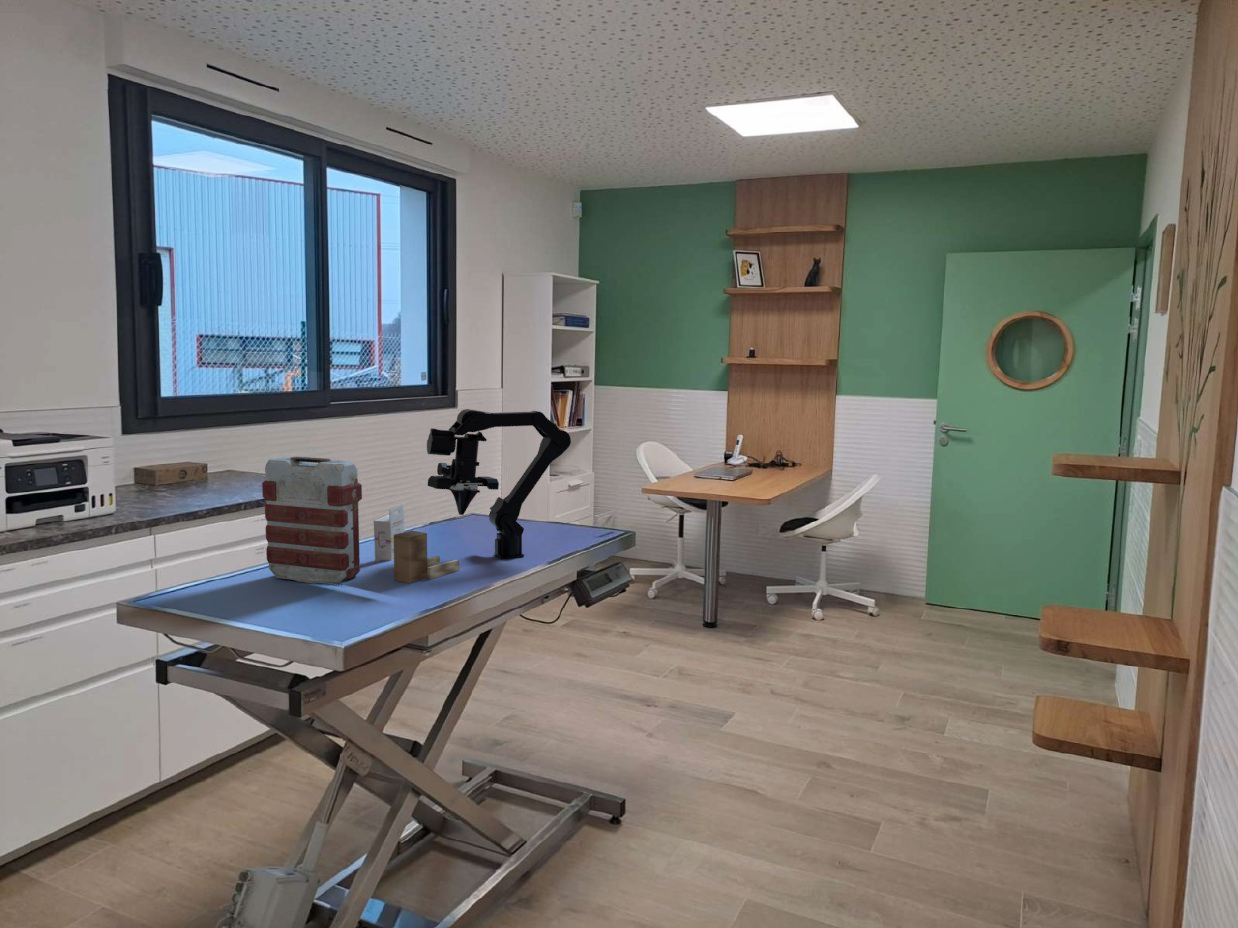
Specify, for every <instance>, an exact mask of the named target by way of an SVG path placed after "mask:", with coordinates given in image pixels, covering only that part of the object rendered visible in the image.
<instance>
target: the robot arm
mask: <svg viewBox="0 0 1238 928" xmlns="http://www.w3.org/2000/svg"><path fill="white" fill-rule="evenodd" d="M501 427H502V428H503V427H504V428H505V427H533V428H534V429H535V430H536V431H537V433H538V434H539V435H540V436H541V437H542V439H541V441H540V444H539V448H538V451H537V454H536V455H535V456H534V458H533V460H532V461H531V462H530V464H529V465H528V466H527V468H526V469H525V471H524V472H523V474H522V475H521V477H520V478H519V480H518V481H517V482H516V483H515V485H514V487H513V488H512V489H511V490H510V493H508V495H507V496H506V497H504V498H501V497H499V496H498V497H497V498H496V500H495V502H494V504H493V505H492V506H490V507H489V509H490V511H489V514H488V519H489V522H490V523H491V525H493V526H494V527H495V530H496V531H497V532H496V538H494V555H496V556H497V557H499V558H500V559H509V558H510V559H513V558H522V557H525V554H524V553H523V533H524V530H525V529H524V527H523V526H522V525H521V524H520V523H518V521H517V520H518V518H519V517H520V513H521V509H522V506H523V504H524V502H525V501H526V500H527V497H528V496H529V495H530V494H531V492H532V491H533V489H534V488H535V486H536V485H537V483H538V482H539V481H540V479H541V478H542V476H543V475H544V474H545V472H546V471H547V469H548V468H549V466H550V465H551V464H552V463H553V461H555V460H556V459H558V458H559V457H561V456H562V455H563V454H564V453H565V452H566V451H567V450H569V448H570V446H571V443H572V440H571V435H570V434H569V432H567V431H566V430H563V429H561V428H559V427H558V426H557V425H556V424H555V423H554V422H552V421H551V420H550V419H549V418H548V417H546V415H545V414H544V413H543V412H541V411H538V410H532V411H515V412H514V411H511V412H510V411H509V412H506V411H505V412H487V411H481V410H477V409H470V408H466V409H462V410H460V412H459V413H458V415H457V417H456V420H455V422H454V423H453V424H452V425H451V426H450V428H448V429H437V428H434V427H433V428H432V427H431V428H430V430H429V431H430V432H429V434H428V438H427V440H426V452H427V455H435V456H451V455H452V454H453V453H455V458H452V460H451V464H450V465H449V464H447V462H439V463H437V469H436V470H437V475H430V477H429V478H428V480H427V487H431V488H434V489H435V490H448V491H449V492H451V493H452V495H453V498H454V500H455V505H456V509H457V512H458V515H460V516H464V514H465V513H466V511H467V509H468V508H469V506H470V504H471V503H472V501H473V500H474V499H475V497H476V495H477V494H479V493H481V490H480V489H478V488H479V487H486V488H487V489H488V490H495V491H496V490H497V491H498V490H499V486H500V483H499V480H498V478H495V477H491V476H480V475H479V476H476V474H477V467H480V461H478V453H479V442H487V439H488V438H486V437H485V436H484V435H483V432H482V431H485V430H489V429H492V428H501ZM476 432H477V433H476Z"/></svg>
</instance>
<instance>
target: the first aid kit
mask: <svg viewBox="0 0 1238 928" xmlns="http://www.w3.org/2000/svg"><path fill="white" fill-rule="evenodd" d="M264 473H265V475H264V477H265V478H264V479H265V480H264V481H262V482H261V486H262V488H261V489H262V491H261V493H262V498H263V499H265V502H266V503H265V504H264V518H265V520H266V525H265V540H266V541H267V546H266V548H265V551H266V553H265V554H266V561H267V563H268V570H270V572H271V573H272V574H273V576H274V577H275V578H276V579H283V580H293V581H295V582H298V583H299V582H300V583H306V584H307V583H308V584H316V585H317V584H326V585H328V584H329V585H335V586H340V585H343V583H340V582H345V581H348V580H351V579H353V578H355V577H356V576H357V575H358V574H359V573H360V571H361V566H360V565H361V562H360V561H361V560H360V527H359V525H360V522H359V520H360V519H359V502H360V501H362V499H363V490H362V489H363V488H362V487H363V486H362V483H360V482H359V481H358V478H359V477H358V475H359V474H358V469H357V465H356V464H355V463H354V462H353V461H352V460H340V459H330V458H321V457H309V456H293V457H292V456H279V457H274V458H273V457H272V458H269V459H268V460H267V462H266V464H265V467H264Z"/></svg>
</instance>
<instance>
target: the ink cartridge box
mask: <svg viewBox="0 0 1238 928" xmlns="http://www.w3.org/2000/svg"><path fill="white" fill-rule="evenodd" d="M396 511H397V513H396ZM404 532H405V513H404V506H403V504H401V505H397V506H395V507H393V508H391V509H389V510H388V514H387V515H385V516H383V517H380V518H377V519H375V520H373V537H374V539H373V540H374V541H373V542H374V562H375V563H377V562H381V561H394V535H395V534H399V533H404Z"/></svg>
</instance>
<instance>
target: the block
mask: <svg viewBox="0 0 1238 928" xmlns="http://www.w3.org/2000/svg"><path fill="white" fill-rule="evenodd" d="M427 558H428V533H427V532H423V531H422V532H421V531H416V530H409V531H404V533H399V534H395V535H394V559H393V571H394V572H393V573H394V575H393V576H394V577H393V578H394V581H397V582H398V581H399V582H403V583H406V584H407V583H408V584H411V583H414V582H418V581H422V580H425V579H428V575H427Z"/></svg>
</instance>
